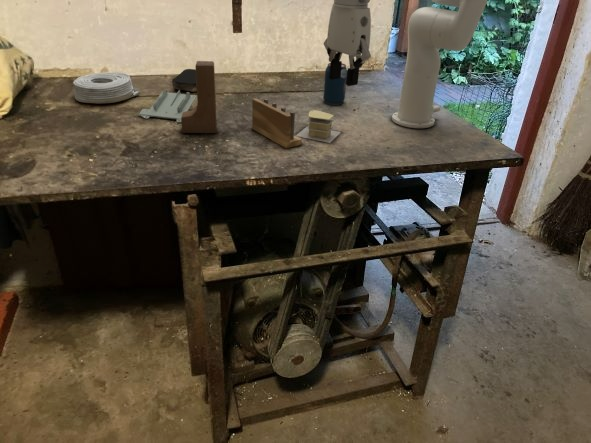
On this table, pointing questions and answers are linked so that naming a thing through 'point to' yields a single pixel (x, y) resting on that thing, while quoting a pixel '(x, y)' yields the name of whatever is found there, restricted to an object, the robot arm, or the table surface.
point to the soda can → (335, 87)
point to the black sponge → (185, 80)
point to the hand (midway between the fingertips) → (343, 81)
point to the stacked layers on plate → (319, 127)
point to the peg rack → (274, 123)
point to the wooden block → (202, 102)
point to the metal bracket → (169, 106)
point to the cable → (104, 88)
